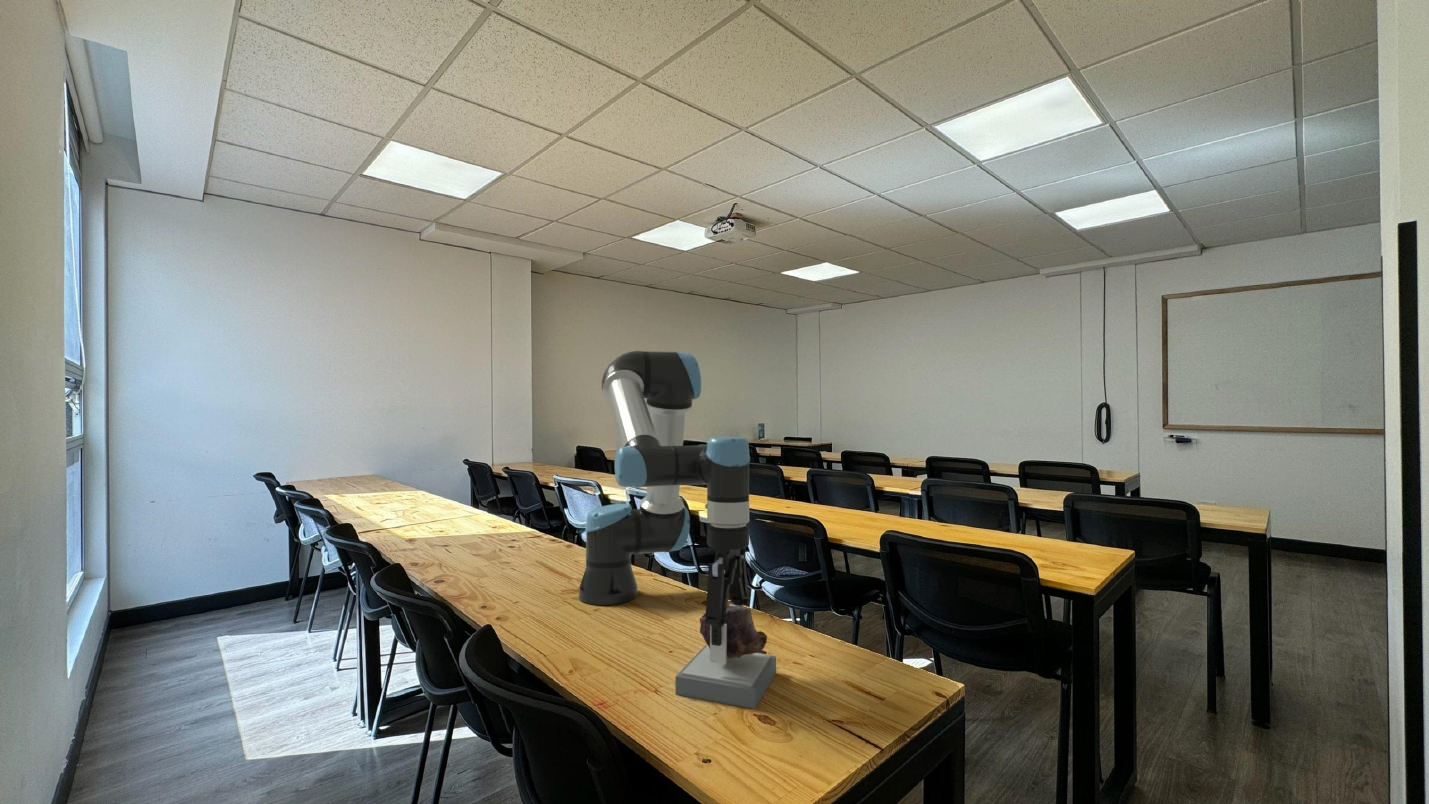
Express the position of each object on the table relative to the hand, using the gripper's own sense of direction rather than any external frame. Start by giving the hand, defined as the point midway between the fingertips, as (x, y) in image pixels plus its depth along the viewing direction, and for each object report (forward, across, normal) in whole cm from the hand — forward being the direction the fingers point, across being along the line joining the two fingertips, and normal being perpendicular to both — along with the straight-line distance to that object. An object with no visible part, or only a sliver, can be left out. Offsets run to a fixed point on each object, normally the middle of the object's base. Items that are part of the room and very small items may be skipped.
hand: (727, 651), depth 102 cm
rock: (+1, 0, 0) cm, 1 cm away
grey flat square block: (+6, 0, 0) cm, 6 cm away
